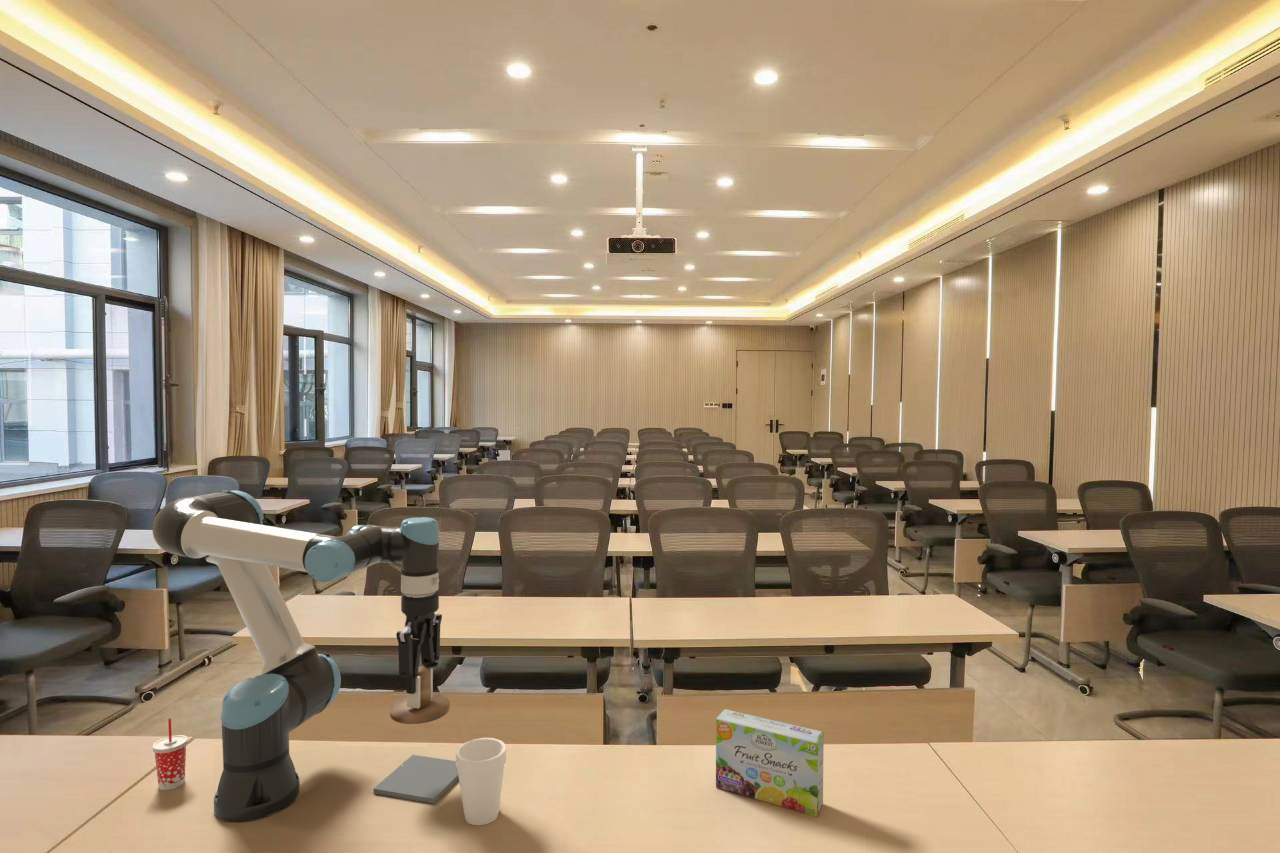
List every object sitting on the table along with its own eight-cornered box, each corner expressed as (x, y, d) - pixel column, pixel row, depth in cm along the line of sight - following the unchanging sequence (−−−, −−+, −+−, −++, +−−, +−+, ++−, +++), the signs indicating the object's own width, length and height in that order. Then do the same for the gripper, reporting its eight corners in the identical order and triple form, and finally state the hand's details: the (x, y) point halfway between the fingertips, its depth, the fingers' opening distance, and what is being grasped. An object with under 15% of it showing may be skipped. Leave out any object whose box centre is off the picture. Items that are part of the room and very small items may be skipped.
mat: (373, 793, 142) (373, 788, 142) (412, 759, 156) (412, 754, 156) (434, 803, 138) (434, 798, 138) (469, 767, 152) (469, 763, 152)
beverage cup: (186, 787, 144) (184, 721, 144) (151, 795, 142) (148, 727, 141) (191, 773, 150) (189, 709, 149) (156, 780, 147) (154, 715, 146)
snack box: (714, 789, 144) (714, 718, 143) (724, 776, 148) (724, 707, 148) (817, 818, 134) (818, 741, 133) (824, 803, 139) (825, 729, 138)
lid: (377, 719, 142) (377, 677, 142) (411, 695, 154) (411, 656, 153) (429, 727, 139) (429, 684, 139) (460, 702, 151) (460, 662, 150)
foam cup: (512, 802, 139) (511, 739, 138) (498, 831, 130) (497, 763, 129) (466, 800, 140) (465, 736, 139) (449, 828, 130) (448, 760, 130)
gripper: (412, 605, 136) (412, 722, 137) (457, 583, 153) (456, 688, 154) (379, 602, 138) (379, 717, 139) (426, 580, 155) (426, 684, 156)
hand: (419, 702), depth 146 cm, fingers closed on lid, 4 cm apart
